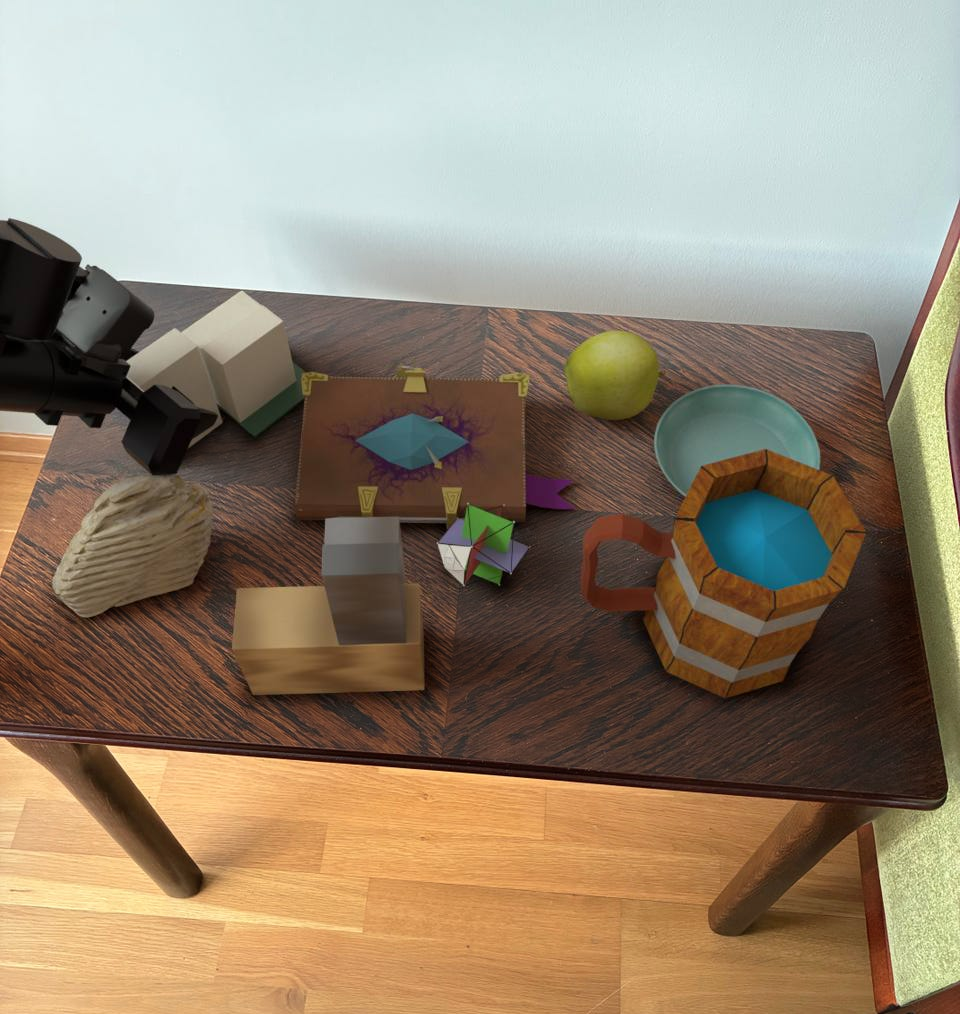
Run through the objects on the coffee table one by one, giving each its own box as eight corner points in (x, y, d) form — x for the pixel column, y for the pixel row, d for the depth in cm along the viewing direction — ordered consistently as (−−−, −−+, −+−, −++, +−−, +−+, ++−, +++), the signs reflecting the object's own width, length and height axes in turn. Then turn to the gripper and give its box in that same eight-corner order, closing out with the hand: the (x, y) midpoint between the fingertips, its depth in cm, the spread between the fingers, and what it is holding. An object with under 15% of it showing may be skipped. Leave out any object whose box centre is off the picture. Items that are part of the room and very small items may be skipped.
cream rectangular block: (163, 467, 92) (130, 392, 83) (142, 448, 93) (108, 373, 84) (223, 422, 94) (197, 346, 86) (202, 405, 95) (174, 327, 86)
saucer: (828, 529, 90) (837, 512, 87) (662, 537, 89) (667, 520, 87) (793, 398, 96) (801, 379, 94) (639, 405, 96) (643, 386, 94)
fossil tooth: (62, 581, 88) (223, 510, 90) (80, 638, 85) (247, 564, 87) (-7, 505, 78) (177, 427, 80) (11, 567, 75) (201, 485, 77)
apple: (668, 428, 95) (684, 369, 88) (573, 446, 94) (582, 387, 87) (642, 365, 98) (656, 303, 91) (551, 382, 97) (558, 320, 90)
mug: (799, 561, 88) (858, 455, 75) (809, 704, 82) (876, 616, 69) (572, 545, 89) (591, 436, 75) (565, 685, 83) (584, 594, 69)
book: (575, 537, 90) (580, 508, 85) (295, 534, 90) (285, 504, 85) (569, 387, 97) (574, 352, 92) (309, 384, 97) (301, 349, 92)
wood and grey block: (252, 695, 82) (199, 580, 66) (257, 637, 84) (206, 512, 68) (424, 690, 82) (414, 574, 66) (423, 633, 85) (413, 507, 68)
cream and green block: (254, 438, 94) (237, 378, 87) (185, 379, 97) (162, 317, 90) (322, 386, 96) (310, 325, 89) (252, 331, 100) (236, 268, 92)
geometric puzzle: (474, 490, 89) (448, 488, 81) (546, 519, 87) (526, 519, 80) (445, 567, 90) (417, 572, 82) (516, 596, 89) (494, 604, 81)
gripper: (146, 343, 70) (290, 366, 84) (-11, 211, 76) (148, 253, 89) (90, 479, 75) (236, 479, 88) (-55, 345, 80) (103, 365, 94)
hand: (181, 390), depth 90 cm, fingers open, 9 cm apart
